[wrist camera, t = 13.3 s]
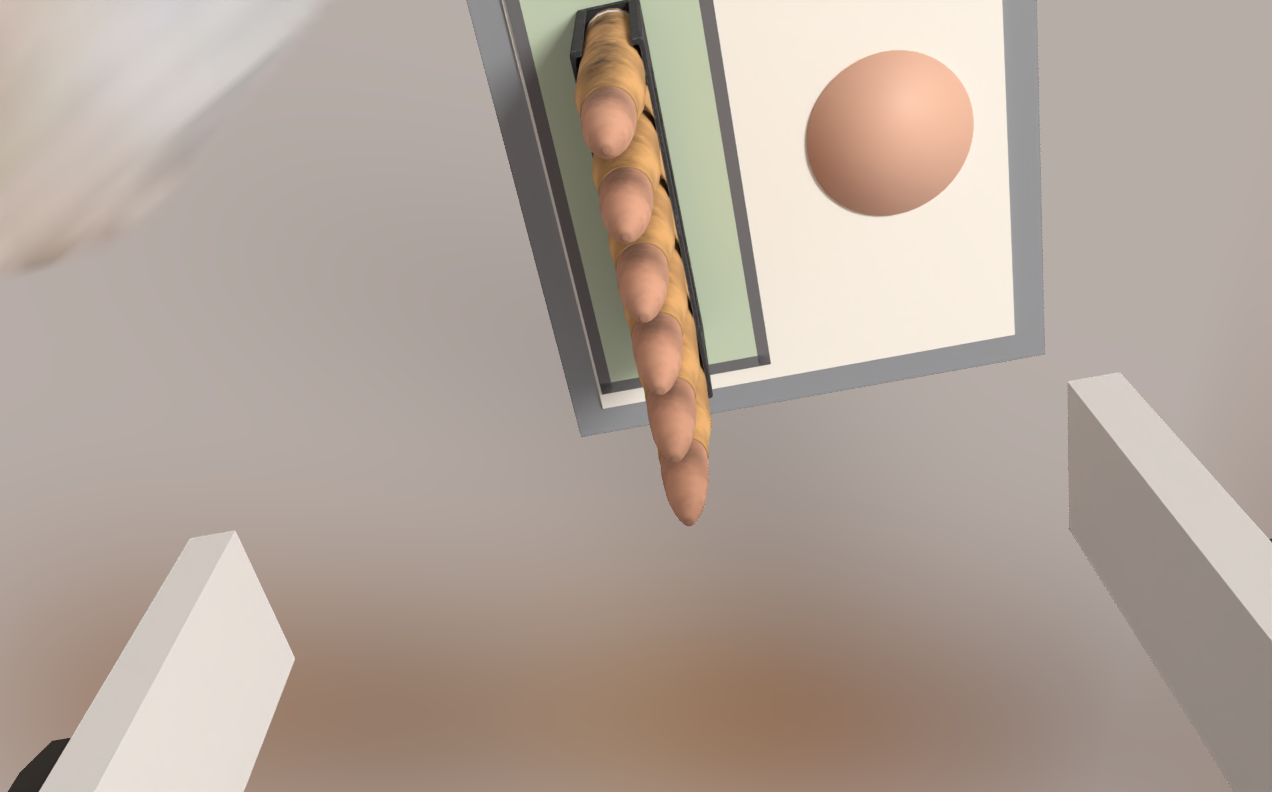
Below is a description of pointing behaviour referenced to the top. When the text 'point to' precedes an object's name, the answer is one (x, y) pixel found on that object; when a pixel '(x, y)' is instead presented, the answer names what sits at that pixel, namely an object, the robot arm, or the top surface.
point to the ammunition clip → (646, 240)
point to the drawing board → (795, 189)
